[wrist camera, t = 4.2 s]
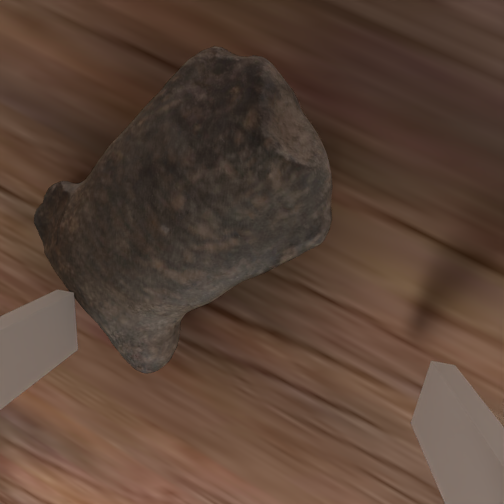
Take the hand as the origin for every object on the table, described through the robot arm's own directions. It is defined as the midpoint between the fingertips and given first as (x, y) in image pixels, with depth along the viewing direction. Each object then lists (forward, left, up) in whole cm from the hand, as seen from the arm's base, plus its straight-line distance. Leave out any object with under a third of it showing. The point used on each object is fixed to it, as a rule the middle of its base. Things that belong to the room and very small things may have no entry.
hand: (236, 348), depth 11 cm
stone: (0, 0, -2) cm, 2 cm away
